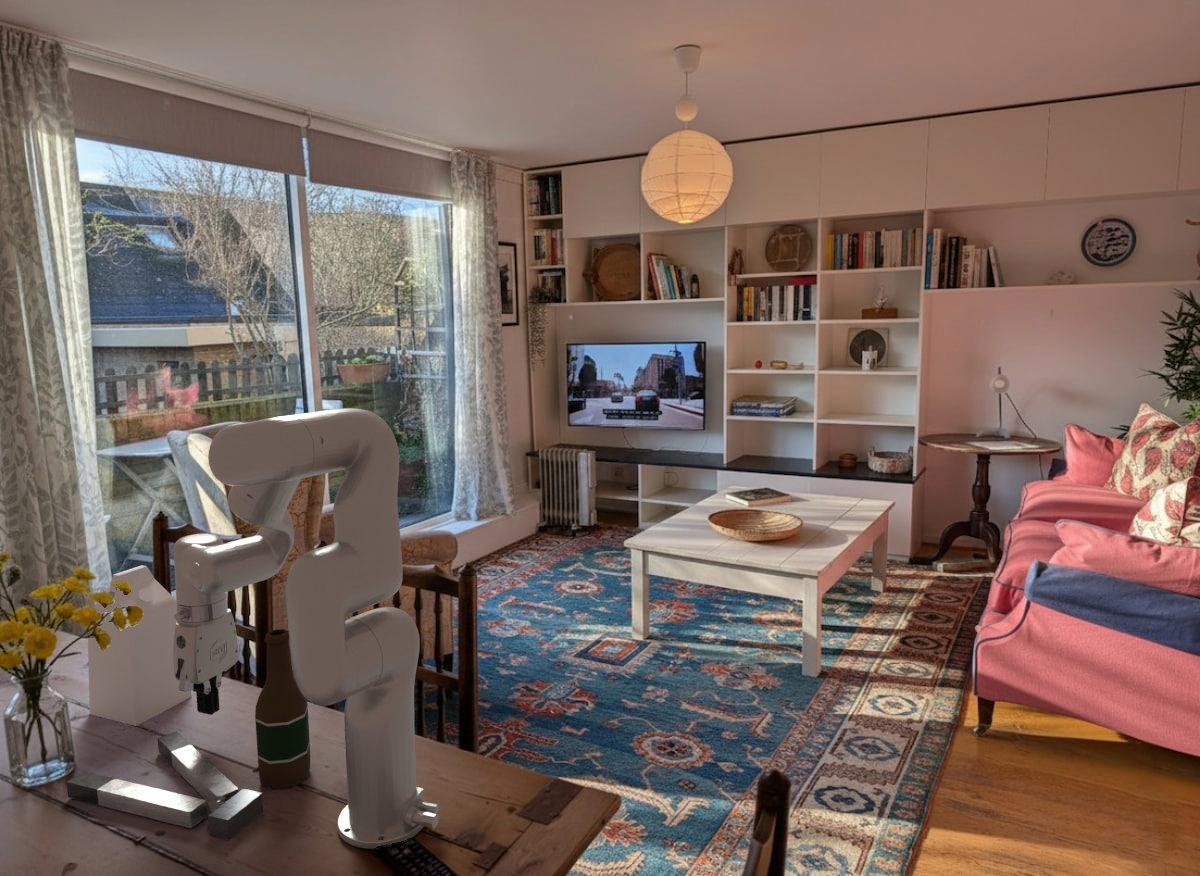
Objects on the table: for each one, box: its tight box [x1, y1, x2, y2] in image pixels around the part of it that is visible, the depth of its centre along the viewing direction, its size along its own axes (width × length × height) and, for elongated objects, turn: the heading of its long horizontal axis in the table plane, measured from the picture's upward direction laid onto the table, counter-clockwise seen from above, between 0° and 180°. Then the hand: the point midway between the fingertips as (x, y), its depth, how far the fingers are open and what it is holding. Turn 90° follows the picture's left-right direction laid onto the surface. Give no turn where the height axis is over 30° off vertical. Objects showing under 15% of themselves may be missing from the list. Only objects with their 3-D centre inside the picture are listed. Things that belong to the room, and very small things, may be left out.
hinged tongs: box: [66, 771, 264, 841], centre depth 121 cm, size 30×7×3 cm, turn 72°
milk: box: [87, 564, 193, 727], centre depth 150 cm, size 12×12×26 cm
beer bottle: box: [254, 628, 311, 791], centre depth 127 cm, size 8×8×24 cm
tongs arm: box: [157, 730, 239, 815], centre depth 127 cm, size 26×5×2 cm, turn 47°
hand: (208, 711), depth 139 cm, fingers closed
